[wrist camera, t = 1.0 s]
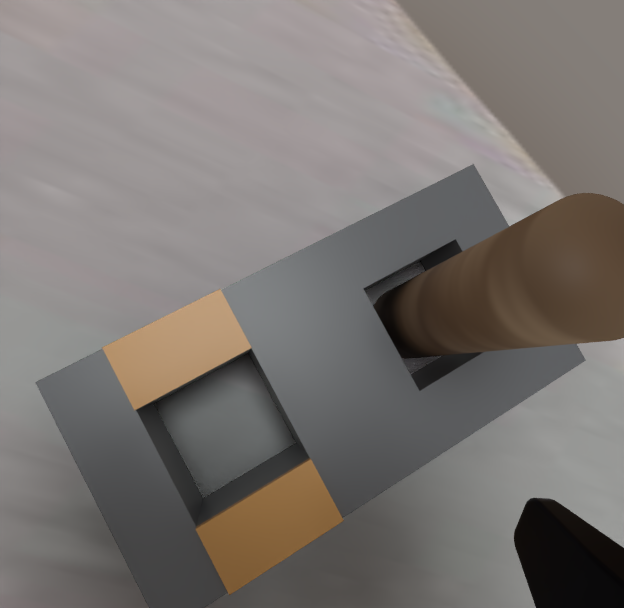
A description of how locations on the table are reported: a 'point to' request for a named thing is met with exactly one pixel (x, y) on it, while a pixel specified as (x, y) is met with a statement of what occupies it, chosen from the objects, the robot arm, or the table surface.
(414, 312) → the walnut peg
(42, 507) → the table surface
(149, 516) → the grey peg socket base
